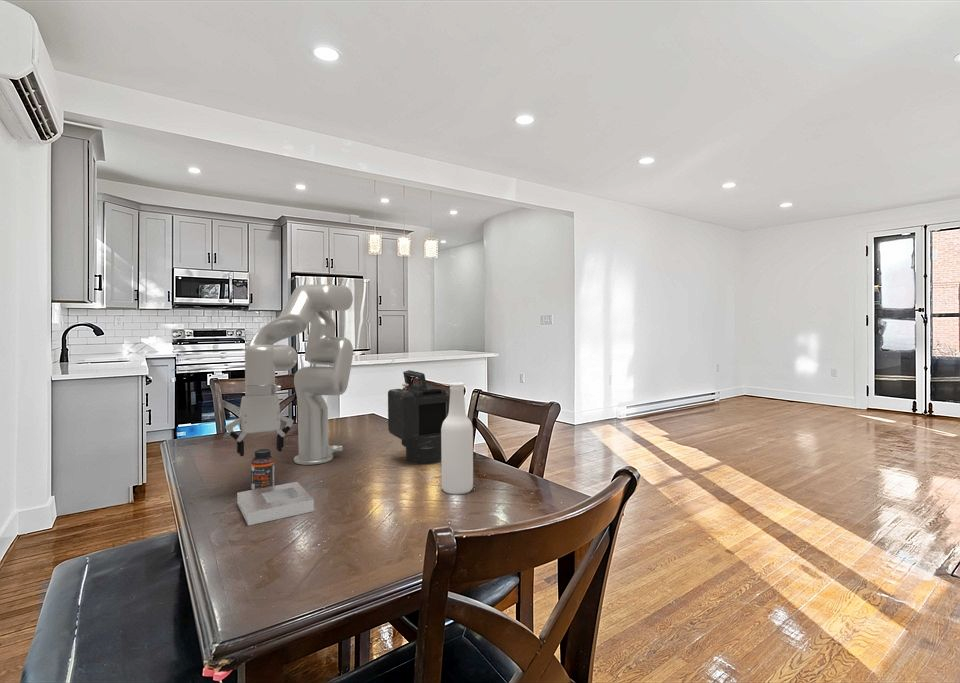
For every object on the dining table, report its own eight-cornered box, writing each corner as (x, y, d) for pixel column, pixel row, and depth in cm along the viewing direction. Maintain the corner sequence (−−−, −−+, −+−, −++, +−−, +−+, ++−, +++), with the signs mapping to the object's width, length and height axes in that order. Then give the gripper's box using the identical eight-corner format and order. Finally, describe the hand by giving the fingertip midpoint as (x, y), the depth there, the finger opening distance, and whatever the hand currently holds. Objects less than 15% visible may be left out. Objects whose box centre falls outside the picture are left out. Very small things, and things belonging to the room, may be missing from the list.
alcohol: (435, 490, 137) (434, 383, 135) (455, 482, 144) (455, 380, 142) (459, 497, 131) (459, 385, 130) (479, 488, 138) (479, 382, 137)
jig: (297, 492, 136) (297, 481, 135) (313, 511, 122) (313, 499, 122) (237, 504, 127) (237, 492, 127) (248, 525, 114) (247, 513, 114)
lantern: (454, 460, 165) (453, 371, 164) (405, 469, 156) (404, 375, 154) (434, 450, 178) (433, 367, 176) (387, 458, 168) (386, 370, 167)
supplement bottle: (251, 495, 133) (250, 454, 133) (250, 489, 138) (249, 449, 138) (275, 492, 136) (274, 451, 135) (273, 485, 141) (272, 446, 141)
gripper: (289, 387, 144) (290, 446, 144) (223, 391, 134) (223, 454, 134) (296, 390, 137) (296, 451, 138) (227, 394, 128) (227, 460, 128)
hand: (260, 452), depth 136 cm, fingers open, 9 cm apart
